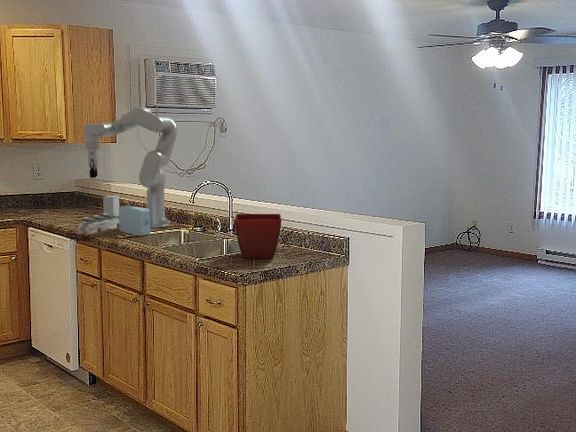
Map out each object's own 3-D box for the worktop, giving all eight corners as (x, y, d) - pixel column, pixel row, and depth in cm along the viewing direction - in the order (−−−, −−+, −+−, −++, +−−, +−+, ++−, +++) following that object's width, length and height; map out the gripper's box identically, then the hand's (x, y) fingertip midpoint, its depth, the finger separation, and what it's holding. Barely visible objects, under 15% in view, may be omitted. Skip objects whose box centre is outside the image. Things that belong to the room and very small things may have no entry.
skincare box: (114, 224, 386) (113, 196, 384) (103, 224, 387) (101, 196, 385) (120, 222, 394) (119, 195, 392) (109, 222, 396) (108, 195, 394)
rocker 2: (105, 221, 365) (106, 217, 364) (101, 221, 361) (101, 218, 361) (96, 218, 367) (96, 214, 367) (92, 219, 364) (92, 215, 363)
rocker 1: (95, 223, 357) (96, 219, 357) (91, 224, 354) (91, 220, 354) (86, 220, 360) (86, 216, 359) (81, 221, 356) (82, 217, 356)
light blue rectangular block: (118, 231, 363) (117, 206, 361) (128, 230, 366) (127, 205, 365) (140, 236, 345) (139, 210, 343) (150, 235, 349) (149, 209, 347)
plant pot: (280, 251, 302) (280, 213, 300) (281, 260, 283) (281, 219, 281) (236, 252, 301) (236, 213, 299) (235, 260, 282) (234, 219, 280)
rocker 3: (115, 219, 372) (115, 215, 372) (111, 219, 369) (111, 216, 368) (106, 216, 374) (106, 213, 374) (101, 217, 371) (102, 213, 371)
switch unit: (127, 227, 373) (127, 218, 373) (96, 235, 350) (95, 225, 349) (106, 226, 379) (106, 217, 378) (74, 233, 355) (73, 223, 355)
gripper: (97, 146, 375) (99, 177, 377) (100, 145, 391) (101, 175, 394) (83, 146, 373) (85, 178, 375) (86, 145, 390) (88, 176, 392)
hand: (93, 177), depth 385 cm, fingers open, 9 cm apart
